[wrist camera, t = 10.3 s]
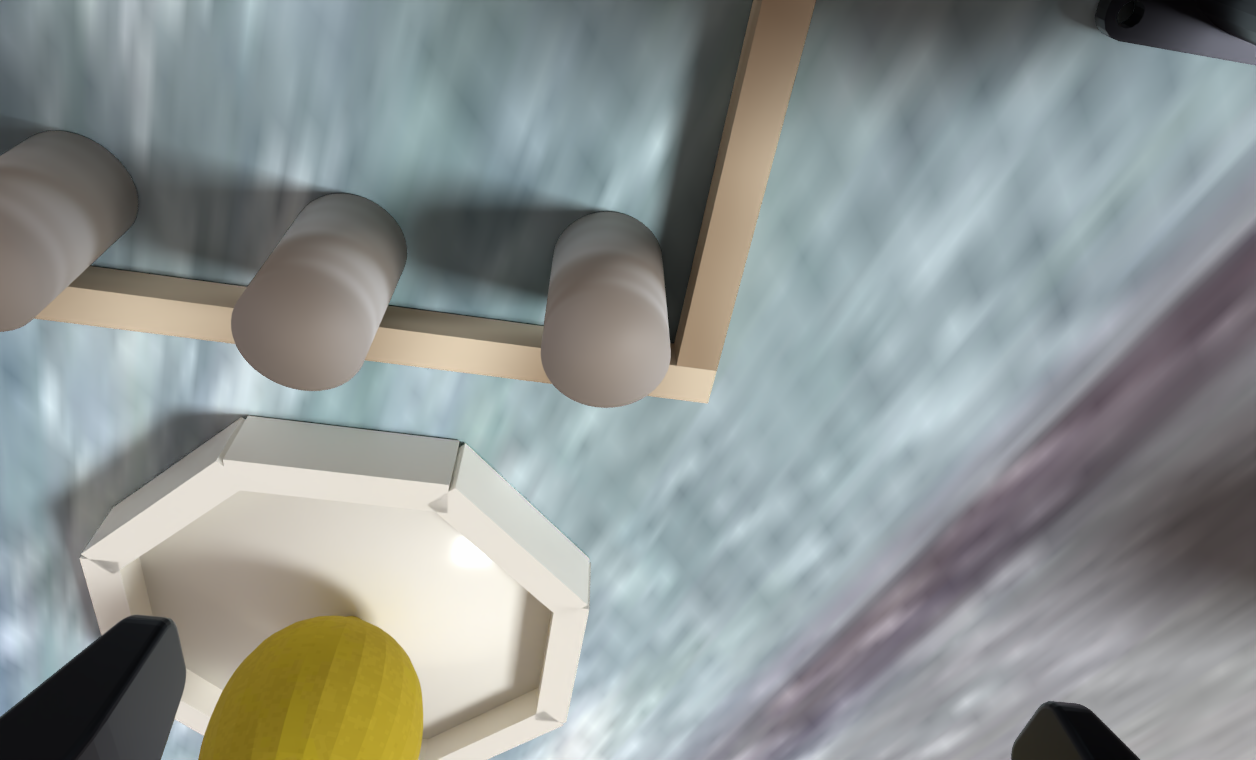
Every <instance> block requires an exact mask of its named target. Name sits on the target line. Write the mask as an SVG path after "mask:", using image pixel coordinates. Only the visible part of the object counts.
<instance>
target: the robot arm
mask: <svg viewBox="0 0 1256 760" xmlns="http://www.w3.org/2000/svg"><path fill="white" fill-rule="evenodd" d="M1130 1H1134V4H1135V6H1134V11H1133V13H1132V14H1131V16H1130V17H1129V19H1127V20H1125V21H1124V22H1122V23H1118V21H1117V17H1118V12H1119V11H1120V9H1121V8H1122V7H1123V5H1125V4H1127V3H1128V2H1130ZM1095 20H1096V26H1097V27H1098V28H1099V30H1100V31H1101V32H1102V33H1103V34H1105V35H1107V36H1109V37H1111V38H1113V39H1115V40H1118V41H1122V42H1128V43H1133V44H1139V45H1144V46H1150V47H1156V48H1161V49H1167V50H1173V51H1178V52H1184V53H1190V54H1195V55H1201V56H1206V57H1212V58H1218V59H1223V60H1229V61H1235V62H1240V63H1246V64H1251V65H1256V0H1100V2H1099V4H1098V6H1097V10H1096V14H1095ZM185 682H186V665H185V660H184V656H183V651H182V647H181V642H180V638H179V633H178V629H177V626H176V623H175V622H174V621H173V620H172V619H171V618H167V617H157V616H147V615H131V616H128V617H126V618H124V619H122V620H121V621H119V622H118V623H117V624H115V625H114V626H113V627H112V628H110V629H109V630H108V631H107V632H106V633H104V634H103V635H102V636H101V637H99V638H98V639H97V640H96V641H94V642H93V643H92V644H91V645H89V646H88V647H87V648H86V649H84V650H83V651H82V652H81V653H79V654H78V655H77V656H76V657H74V658H73V659H72V660H71V661H69V662H68V663H67V664H66V665H64V666H63V667H62V668H61V669H59V670H58V671H57V672H56V673H54V674H53V675H52V676H51V677H49V678H48V679H47V680H46V681H44V682H43V683H42V684H41V685H40V686H38V687H37V688H36V689H35V690H33V691H32V692H31V693H30V694H28V695H27V696H26V697H25V698H23V699H22V700H21V701H20V702H18V703H17V704H16V705H15V706H13V707H12V708H11V709H10V710H8V711H7V712H6V713H5V714H3V715H2V716H1V717H0V760H161V757H162V754H163V751H164V748H165V745H166V742H167V739H168V736H169V733H170V730H171V727H172V724H173V722H174V719H175V716H176V713H177V710H178V707H179V704H180V701H181V698H182V695H183V691H184V687H185ZM1011 760H1140V759H1139V758H1138V757H1137V756H1136V755H1135V754H1134V753H1133V752H1132V751H1131V750H1130V749H1129V748H1128V747H1127V746H1126V745H1125V744H1124V743H1123V742H1122V741H1121V740H1120V739H1119V738H1118V737H1117V736H1116V735H1115V734H1114V733H1113V732H1112V731H1111V730H1110V729H1109V728H1108V727H1107V726H1106V725H1105V724H1104V723H1103V722H1102V721H1101V720H1100V719H1099V718H1098V717H1097V716H1096V715H1095V714H1094V713H1093V712H1092V711H1091V710H1090V709H1088V708H1087V707H1085V706H1083V705H1080V704H1076V703H1065V702H1054V701H1048V702H1046V703H1043V704H1042V705H1041V706H1040V707H1039V708H1038V709H1037V711H1036V712H1035V714H1034V715H1033V716H1032V718H1031V719H1030V721H1029V722H1028V723H1027V725H1026V726H1025V728H1024V729H1023V730H1022V732H1021V733H1020V734H1019V736H1018V737H1017V739H1016V740H1015V742H1014V745H1013V748H1012V754H1011Z"/></svg>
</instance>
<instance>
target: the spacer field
mask: <svg viewBox="0 0 1256 760" xmlns="http://www.w3.org/2000/svg"><path fill="white" fill-rule="evenodd" d="M815 3H816V0H753V3H752V7H751V12H750V16H749V20H748V25H747V29H746V33H745V38H744V42H743V46H742V51H741V55H740V59H739V64H738V68H737V73H736V77H735V81H734V86H733V90H732V94H731V99H730V103H729V107H728V112H727V116H726V120H725V125H724V129H723V133H722V138H721V142H720V147H719V151H718V155H717V160H716V164H715V168H714V173H713V177H712V181H711V186H710V190H709V194H708V199H707V203H706V208H705V212H704V216H703V221H702V225H701V229H700V234H699V238H698V242H697V247H696V251H695V255H694V260H693V264H692V268H691V273H690V277H689V282H688V286H687V290H686V295H685V299H684V303H683V308H682V312H681V316H680V321H679V325H678V329H677V334H676V338H675V343H670V337H669V326H668V315H667V304H666V293H665V282H664V271H663V260H662V253H661V249H660V246H659V243H658V241H657V239H656V237H655V236H654V234H653V233H652V232H651V231H650V230H649V228H647V227H646V226H645V225H644V224H643V223H641V222H640V221H638V220H637V219H635V218H633V217H631V216H628V215H625V214H621V213H617V212H598V213H593V214H589V215H586V216H584V217H582V218H580V219H578V220H576V221H575V222H573V223H572V224H571V225H569V226H568V227H567V228H566V229H565V230H564V232H563V233H562V234H561V236H560V237H559V239H558V241H557V243H556V246H555V249H554V254H553V260H552V268H551V275H550V283H549V291H548V298H547V306H546V313H545V321H544V326H538V325H531V324H523V323H516V322H508V321H500V320H493V319H485V318H478V317H470V316H463V315H455V314H448V313H440V312H433V311H425V310H418V309H410V308H402V307H395V306H388V304H389V302H390V300H391V297H392V295H393V293H394V290H395V288H396V286H397V283H398V281H399V279H400V276H401V274H402V272H403V269H404V267H405V264H406V260H407V246H406V241H405V238H404V235H403V233H402V231H401V229H400V227H399V225H398V224H397V222H396V221H395V220H394V218H393V217H392V216H391V215H390V214H389V213H388V212H387V211H386V210H384V209H383V208H382V207H380V206H379V205H377V204H376V203H374V202H372V201H370V200H368V199H366V198H363V197H360V196H357V195H352V194H343V193H339V194H330V195H325V196H322V197H319V198H317V199H315V200H313V201H312V202H310V203H309V204H308V205H307V206H306V207H305V208H304V209H303V210H302V211H301V213H300V214H299V215H298V217H297V218H296V220H295V221H294V222H293V224H292V225H291V227H290V228H289V229H288V231H287V232H286V233H285V235H284V236H283V238H282V239H281V240H280V242H279V243H278V245H277V246H276V247H275V249H274V250H273V252H272V253H271V254H270V256H269V257H268V259H267V260H266V261H265V263H264V264H263V266H262V267H261V268H260V270H259V271H258V273H257V274H256V275H255V277H254V278H253V280H252V281H251V282H250V284H249V285H248V287H244V286H237V285H229V284H221V283H214V282H206V281H199V280H191V279H184V278H176V277H169V276H161V275H154V274H146V273H139V272H131V271H123V270H116V269H108V268H101V267H93V266H90V265H91V264H92V263H93V262H94V261H95V260H96V259H97V258H98V257H100V256H101V255H102V254H103V253H104V252H105V251H106V250H107V249H108V248H109V247H110V246H111V245H112V244H113V243H114V242H116V241H117V240H118V239H119V238H120V237H121V236H122V235H123V234H124V233H125V232H126V231H127V230H128V229H129V228H130V227H131V226H132V224H133V223H134V221H135V219H136V216H137V212H138V195H137V191H136V188H135V185H134V183H133V181H132V179H131V177H130V175H129V173H128V172H127V170H126V169H125V167H124V166H123V165H122V164H121V163H120V161H119V160H118V159H117V158H116V157H115V156H114V155H113V154H111V153H110V152H109V151H108V150H107V149H105V148H104V147H102V146H101V145H99V144H98V143H96V142H94V141H92V140H90V139H88V138H86V137H84V136H81V135H78V134H75V133H71V132H66V131H46V132H41V133H38V134H35V135H33V136H31V137H30V138H28V139H26V140H25V141H23V142H21V143H20V144H18V145H17V146H15V147H14V148H12V149H10V150H9V151H7V152H6V153H4V154H2V155H1V156H0V332H4V331H10V330H14V329H18V328H20V327H22V326H24V325H26V324H27V323H29V322H30V321H32V320H33V319H34V318H35V319H43V320H50V321H58V322H66V323H74V324H82V325H90V326H98V327H106V328H114V329H122V330H130V331H138V332H146V333H154V334H162V335H169V336H177V337H185V338H193V339H201V340H209V341H217V342H225V343H233V344H236V346H237V348H238V350H239V351H240V353H241V354H242V356H243V357H244V358H245V360H246V361H247V362H248V363H249V364H250V365H251V366H252V367H253V368H254V369H255V370H257V371H258V372H259V373H260V374H262V375H263V376H265V377H267V378H268V379H270V380H272V381H274V382H276V383H278V384H281V385H283V386H286V387H289V388H293V389H298V390H305V391H321V390H328V389H331V388H335V387H337V386H340V385H342V384H344V383H346V382H347V381H349V380H350V379H351V378H353V377H354V376H355V375H356V374H357V373H358V371H359V370H360V368H361V367H362V365H363V363H364V360H368V361H376V362H384V363H391V364H399V365H407V366H415V367H423V368H431V369H439V370H447V371H455V372H463V373H471V374H479V375H487V376H495V377H503V378H510V379H518V380H526V381H534V382H542V383H550V384H553V385H554V386H555V387H556V388H557V389H558V390H559V391H560V392H561V393H563V394H564V395H565V396H567V397H568V398H570V399H572V400H574V401H576V402H579V403H581V404H585V405H588V406H594V407H603V408H608V407H619V406H624V405H628V404H631V403H634V402H636V401H638V400H640V399H642V398H644V397H645V396H653V397H661V398H669V399H677V400H685V401H693V402H701V403H708V401H709V397H710V394H711V390H712V386H713V382H714V379H715V375H716V371H717V367H718V364H719V360H720V356H721V353H722V349H723V345H724V341H725V338H726V334H727V330H728V327H729V323H730V319H731V315H732V312H733V308H734V304H735V300H736V297H737V293H738V289H739V286H740V282H741V278H742V274H743V271H744V267H745V263H746V260H747V256H748V252H749V248H750V245H751V241H752V237H753V233H754V230H755V226H756V222H757V219H758V215H759V211H760V207H761V204H762V200H763V196H764V193H765V189H766V185H767V181H768V178H769V174H770V170H771V166H772V163H773V159H774V155H775V152H776V148H777V144H778V140H779V137H780V133H781V129H782V125H783V122H784V118H785V114H786V111H787V107H788V103H789V99H790V96H791V92H792V88H793V85H794V81H795V77H796V73H797V70H798V66H799V62H800V58H801V55H802V51H803V47H804V44H805V40H806V36H807V32H808V29H809V25H810V21H811V18H812V14H813V10H814V6H815Z"/></svg>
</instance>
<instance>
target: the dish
mask: <svg viewBox="0 0 1256 760" xmlns="http://www.w3.org/2000/svg"><path fill="white" fill-rule="evenodd" d="M81 554H82V555H81V557H80V562H81V565H82V569H83V572H84V576H85V579H86V583H87V586H88V590H89V593H90V597H91V600H92V604H93V607H94V611H95V614H96V618H97V621H98V625H99V628H100V632H101V635H103V634H104V633H106V632H107V631H108V630H109V629H110V628H112V627H113V626H114V625H115V624H117V623H118V622H119V621H121V620H122V619H124V618H126V617H128V616H131V615H147V616H157V617H167V618H171V619H172V620H173V621H174V622H175V623H176V626H177V629H178V633H179V638H180V642H181V647H182V651H183V656H184V660H185V665H186V682H185V687H184V691H183V695H182V698H181V701H180V704H179V707H178V710H177V713H176V716H175V720H177V721H179V722H181V723H182V724H184V725H186V726H188V727H189V728H191V729H193V730H194V731H196V732H198V733H200V734H201V735H203V736H204V734H205V731H206V728H207V726H208V723H209V720H210V718H211V715H212V713H213V711H214V708H215V706H216V704H217V702H218V699H219V697H220V695H221V693H222V691H223V689H224V688H225V686H226V684H227V682H228V681H229V679H230V678H231V676H232V675H233V673H234V672H235V670H236V669H237V668H238V667H239V665H240V664H241V663H242V662H243V660H244V659H245V658H246V657H247V656H248V655H249V654H250V653H252V652H253V651H254V650H255V649H256V648H257V647H258V646H259V645H260V644H261V643H262V642H263V641H264V640H265V639H267V638H268V637H270V636H271V635H272V634H274V633H276V632H278V631H280V630H282V629H284V628H286V627H287V626H289V625H291V624H293V623H296V622H299V621H302V620H306V619H310V618H314V617H318V616H333V615H335V616H345V617H347V616H356V617H359V618H360V619H362V620H363V621H366V622H368V623H370V624H373V625H375V626H377V627H379V628H381V629H382V630H383V631H385V632H386V633H388V634H389V635H390V636H392V637H393V638H394V639H395V640H396V641H397V643H398V644H399V645H400V646H401V647H402V648H403V649H404V650H405V652H406V653H407V655H408V656H409V658H410V660H411V662H412V665H413V667H414V669H415V671H416V674H417V676H418V678H419V682H420V686H421V690H422V701H423V736H422V743H421V749H420V754H419V758H418V760H487V759H489V758H491V757H494V756H496V755H498V754H500V753H503V752H505V751H507V750H509V749H512V748H514V747H516V746H518V745H521V744H523V743H525V742H527V741H530V740H532V739H534V738H536V737H538V736H541V735H543V734H545V733H547V732H550V731H552V730H554V729H556V728H559V727H561V726H563V722H564V723H566V720H567V715H568V710H569V705H570V700H571V696H572V691H573V686H574V681H575V676H576V671H577V666H578V662H579V657H580V652H581V647H582V642H583V637H584V632H585V628H586V623H587V618H588V613H589V602H590V573H591V563H590V562H589V558H588V557H587V556H586V555H585V554H584V553H583V552H582V551H581V550H580V549H579V548H577V547H576V546H575V545H574V544H573V543H572V542H571V541H570V540H569V539H568V538H567V537H566V536H565V535H563V534H562V533H561V532H560V531H559V530H558V529H557V528H556V527H555V526H554V525H553V524H552V523H551V522H550V521H548V520H547V519H546V518H545V517H544V516H543V515H542V514H541V513H540V512H539V511H538V510H537V509H536V508H534V507H533V506H532V505H531V504H530V503H529V502H528V501H527V500H526V499H525V498H524V497H523V496H522V495H521V494H519V493H518V492H517V491H516V490H515V489H514V488H513V487H512V486H511V485H510V484H509V483H508V482H507V481H505V480H504V479H503V478H502V477H501V476H500V475H499V474H498V473H497V472H496V471H495V470H494V469H493V468H491V467H490V466H489V465H488V464H487V463H486V462H485V461H484V460H483V459H482V458H481V457H480V456H479V455H478V454H476V453H475V452H474V451H473V450H472V449H471V448H470V447H469V446H468V445H467V444H466V443H465V444H464V445H462V446H460V447H459V440H450V439H442V438H433V437H425V436H416V435H408V434H399V433H391V432H383V431H374V430H366V429H357V428H349V427H340V426H332V425H323V424H315V423H306V422H298V421H290V420H281V419H273V418H264V417H256V416H247V418H246V420H245V419H244V418H242V417H241V418H239V419H238V420H237V421H235V422H234V423H232V424H231V425H229V426H228V427H227V428H225V429H224V430H222V431H221V432H220V433H218V434H217V435H215V436H214V437H212V438H211V439H210V440H208V441H207V442H205V443H204V444H202V445H201V446H200V447H198V448H197V449H195V450H194V451H193V452H191V453H190V454H188V455H187V456H185V457H184V458H183V459H181V460H180V461H178V462H177V463H176V464H174V465H173V466H171V467H170V468H168V469H167V470H166V471H164V472H163V473H161V474H160V475H158V476H157V477H156V478H154V479H153V480H151V481H150V482H149V483H147V484H146V485H144V486H143V487H141V488H140V489H139V490H137V491H136V492H134V493H133V494H132V495H130V496H129V497H127V498H126V499H124V500H123V501H122V502H120V503H119V504H117V505H116V506H114V507H113V508H112V509H111V511H110V512H109V514H108V515H107V517H106V518H105V520H104V521H103V523H102V524H101V525H100V527H99V528H98V530H97V531H96V533H95V534H94V536H93V537H92V539H91V540H90V542H89V543H88V544H87V546H86V547H85V549H84V550H83V552H82V553H81Z"/></svg>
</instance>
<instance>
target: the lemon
mask: <svg viewBox="0 0 1256 760" xmlns="http://www.w3.org/2000/svg"><path fill="white" fill-rule="evenodd" d="M422 736H423V701H422V690H421V686H420V682H419V678H418V676H417V674H416V671H415V669H414V667H413V665H412V662H411V660H410V658H409V656H408V655H407V653H406V652H405V650H404V649H403V648H402V647H401V646H400V645H399V644H398V643H397V641H396V640H395V639H394V638H393V637H392V636H390V635H389V634H388V633H386V632H385V631H383V630H382V629H381V628H379V627H377V626H375V625H373V624H370V623H368V622H366V621H363V620H362V619H360V618H359V617H356V616H347V617H345V616H335V615H333V616H318V617H314V618H310V619H306V620H302V621H299V622H296V623H293V624H291V625H289V626H287V627H286V628H284V629H282V630H280V631H278V632H276V633H274V634H272V635H271V636H270V637H268V638H267V639H265V640H264V641H263V642H262V643H261V644H260V645H259V646H258V647H257V648H256V649H255V650H254V651H253V652H252V653H250V654H249V655H248V656H247V657H246V658H245V659H244V660H243V662H242V663H241V664H240V665H239V667H238V668H237V669H236V670H235V672H234V673H233V675H232V676H231V678H230V679H229V681H228V682H227V684H226V686H225V688H224V689H223V691H222V693H221V695H220V697H219V699H218V702H217V704H216V706H215V708H214V711H213V713H212V715H211V718H210V720H209V723H208V726H207V728H206V731H205V734H204V738H203V741H202V745H201V749H200V754H199V759H198V760H418V758H419V754H420V749H421V743H422Z"/></svg>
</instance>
